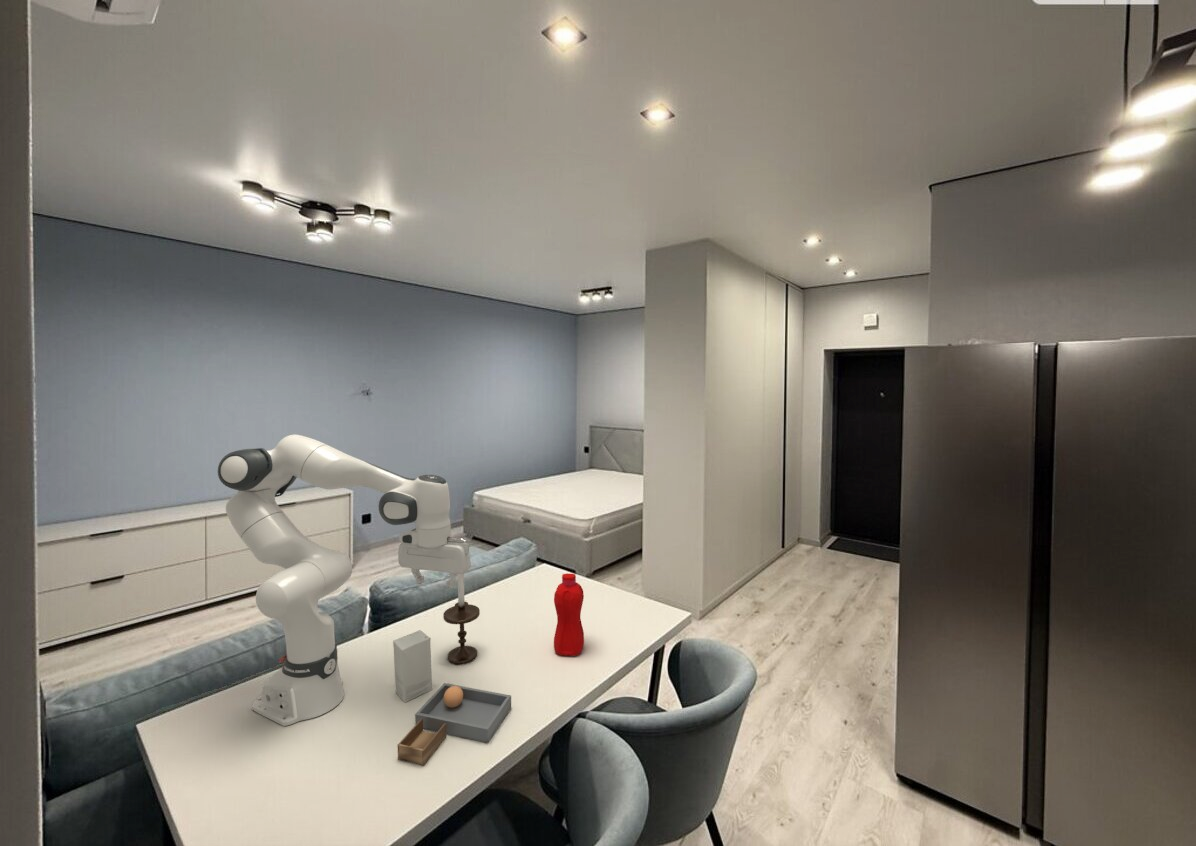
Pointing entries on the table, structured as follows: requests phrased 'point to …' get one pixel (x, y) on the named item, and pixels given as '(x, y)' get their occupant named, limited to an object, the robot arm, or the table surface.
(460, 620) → the candlestick
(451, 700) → the ball
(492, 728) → the tray
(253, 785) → the table surface
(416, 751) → the small wooden box
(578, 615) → the water bottle
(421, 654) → the skincare box
